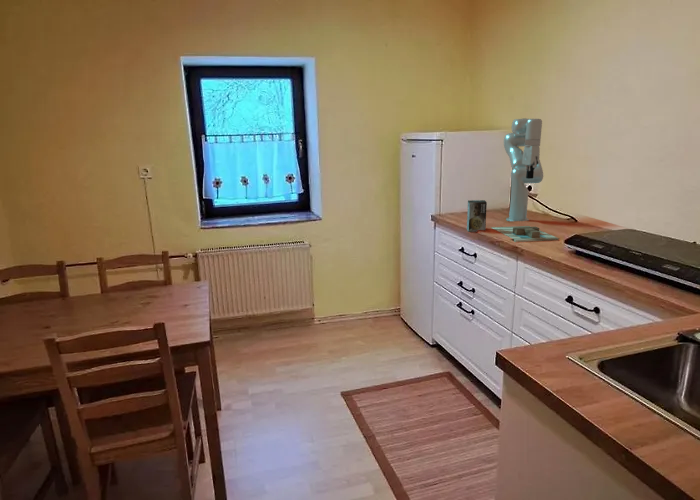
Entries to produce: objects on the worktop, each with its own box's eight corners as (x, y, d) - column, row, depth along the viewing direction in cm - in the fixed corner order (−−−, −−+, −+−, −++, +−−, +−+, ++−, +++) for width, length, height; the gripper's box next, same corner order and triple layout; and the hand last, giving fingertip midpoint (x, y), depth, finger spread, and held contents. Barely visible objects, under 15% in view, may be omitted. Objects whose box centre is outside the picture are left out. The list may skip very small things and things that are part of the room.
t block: (512, 233, 231) (513, 227, 231) (534, 232, 233) (535, 226, 232) (524, 238, 220) (524, 232, 219) (547, 237, 221) (547, 231, 220)
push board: (490, 229, 246) (490, 227, 246) (528, 227, 248) (529, 225, 248) (515, 242, 217) (515, 239, 217) (558, 240, 219) (558, 238, 219)
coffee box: (483, 229, 246) (485, 200, 242) (485, 231, 240) (487, 201, 236) (466, 229, 247) (467, 200, 243) (468, 231, 241) (469, 201, 237)
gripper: (519, 143, 243) (516, 177, 248) (532, 143, 229) (529, 180, 234) (532, 142, 244) (529, 176, 249) (546, 143, 230) (543, 179, 234)
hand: (529, 178), depth 241 cm, fingers closed
